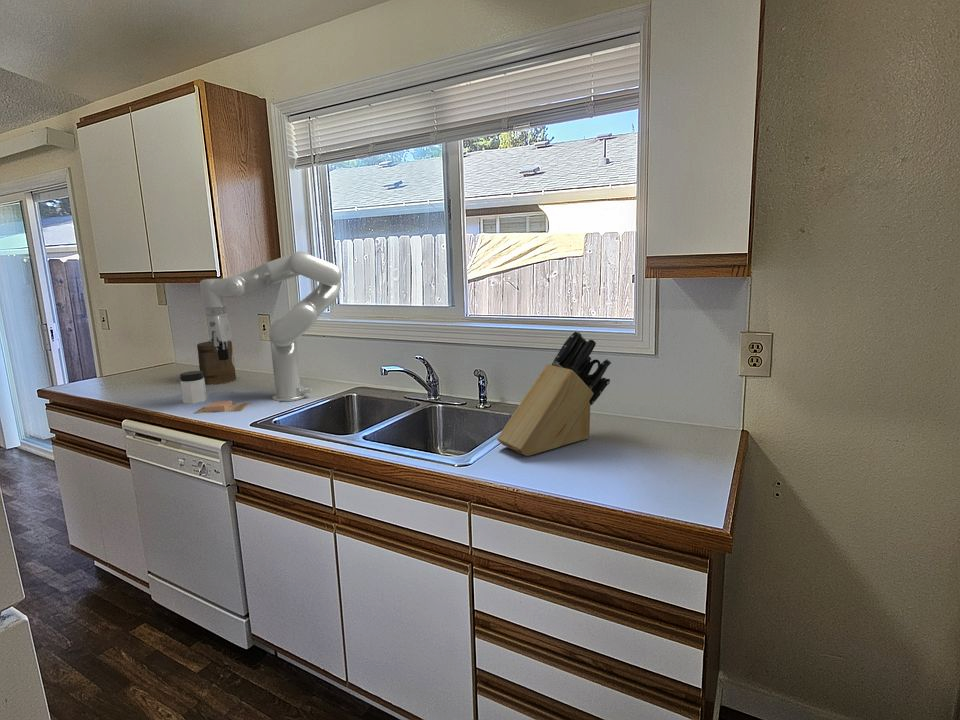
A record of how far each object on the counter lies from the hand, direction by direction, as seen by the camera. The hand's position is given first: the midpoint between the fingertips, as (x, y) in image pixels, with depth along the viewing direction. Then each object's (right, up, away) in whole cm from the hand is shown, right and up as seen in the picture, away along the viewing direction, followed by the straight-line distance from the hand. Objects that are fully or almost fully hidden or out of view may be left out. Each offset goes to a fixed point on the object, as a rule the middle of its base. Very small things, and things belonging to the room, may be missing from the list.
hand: (224, 359), depth 211 cm
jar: (-16, -17, +9) cm, 25 cm away
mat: (+1, -19, -3) cm, 19 cm away
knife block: (+120, -24, -51) cm, 132 cm away
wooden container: (-24, -10, +47) cm, 54 cm away
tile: (0, -17, -1) cm, 17 cm away
